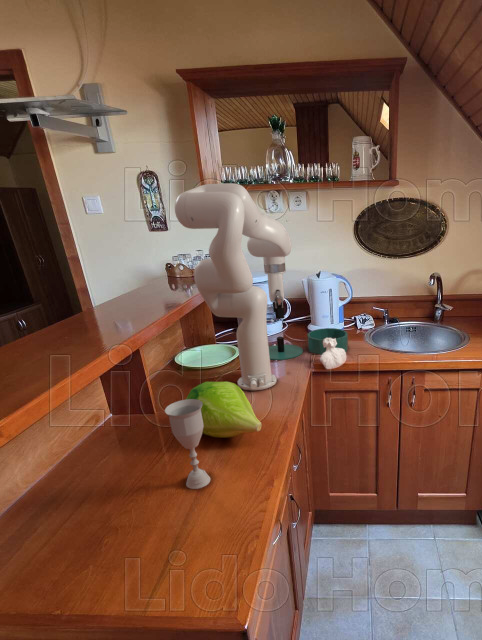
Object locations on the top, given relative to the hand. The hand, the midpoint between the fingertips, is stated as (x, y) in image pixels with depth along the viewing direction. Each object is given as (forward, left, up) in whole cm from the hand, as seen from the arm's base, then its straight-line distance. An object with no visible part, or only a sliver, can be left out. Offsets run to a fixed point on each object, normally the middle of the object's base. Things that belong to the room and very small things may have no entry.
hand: (278, 315), depth 157 cm
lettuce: (-57, +20, -16) cm, 62 cm away
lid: (0, 0, -15) cm, 15 cm away
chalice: (-76, +26, -16) cm, 82 cm away
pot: (0, -18, -15) cm, 24 cm away
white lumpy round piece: (-18, -16, -16) cm, 29 cm away
